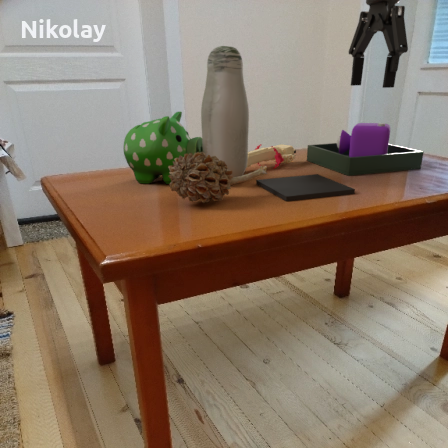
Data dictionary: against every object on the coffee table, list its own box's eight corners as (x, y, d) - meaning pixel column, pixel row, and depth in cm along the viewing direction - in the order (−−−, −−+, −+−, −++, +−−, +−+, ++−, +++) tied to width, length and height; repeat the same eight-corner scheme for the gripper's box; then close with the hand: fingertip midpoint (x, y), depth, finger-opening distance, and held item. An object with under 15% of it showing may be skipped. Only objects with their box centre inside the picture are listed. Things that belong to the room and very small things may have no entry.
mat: (354, 193, 93) (355, 189, 92) (286, 201, 88) (286, 196, 88) (317, 178, 106) (317, 173, 106) (255, 184, 102) (256, 179, 101)
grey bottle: (233, 189, 97) (232, 44, 84) (196, 184, 102) (189, 46, 89) (255, 180, 105) (257, 45, 92) (219, 176, 110) (216, 47, 97)
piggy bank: (194, 188, 99) (191, 116, 92) (118, 186, 102) (109, 117, 95) (207, 174, 112) (204, 110, 105) (138, 173, 114) (132, 111, 107)
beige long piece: (239, 183, 108) (306, 161, 121) (237, 146, 103) (306, 127, 116) (213, 177, 114) (279, 156, 128) (210, 142, 110) (279, 124, 123)
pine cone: (181, 214, 82) (178, 159, 77) (161, 202, 89) (157, 151, 84) (277, 197, 91) (279, 147, 87) (252, 188, 99) (253, 141, 94)
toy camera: (334, 157, 125) (337, 119, 120) (384, 158, 123) (389, 119, 118) (336, 165, 116) (340, 124, 111) (390, 165, 114) (397, 124, 109)
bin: (420, 168, 114) (423, 151, 112) (348, 175, 108) (350, 157, 106) (370, 155, 132) (372, 140, 130) (306, 160, 126) (307, 145, 124)
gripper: (341, -10, 110) (332, 84, 120) (407, -27, 89) (390, 88, 99) (366, -9, 112) (355, 84, 122) (437, -25, 91) (417, 88, 101)
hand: (371, 86), depth 111 cm, fingers open, 13 cm apart
